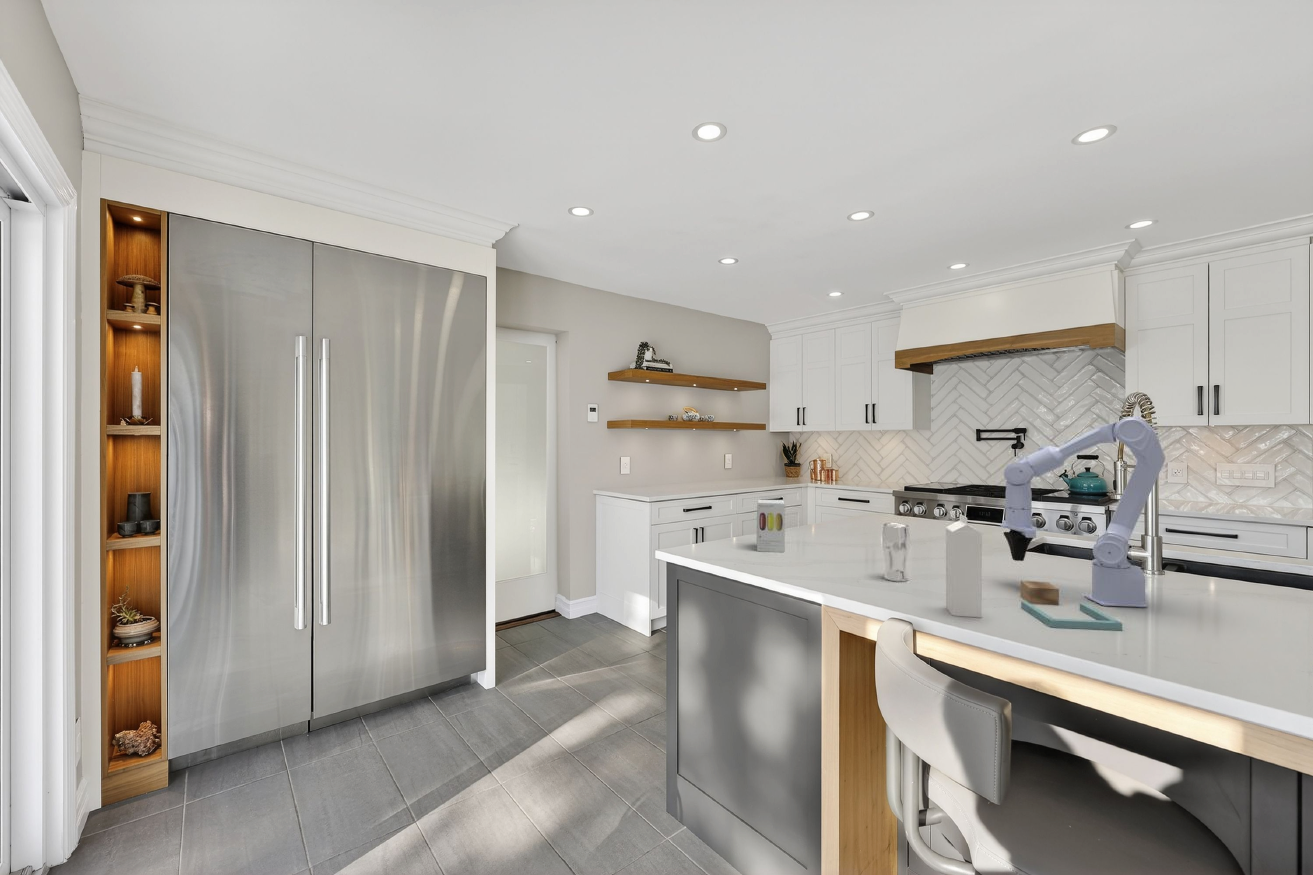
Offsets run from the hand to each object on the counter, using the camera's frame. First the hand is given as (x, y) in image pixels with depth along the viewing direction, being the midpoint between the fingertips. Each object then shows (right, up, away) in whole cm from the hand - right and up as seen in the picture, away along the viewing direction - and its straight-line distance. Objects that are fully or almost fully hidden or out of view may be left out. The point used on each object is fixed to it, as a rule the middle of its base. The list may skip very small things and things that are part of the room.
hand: (1018, 560), depth 149 cm
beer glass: (-28, -8, +10) cm, 30 cm away
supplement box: (-54, -7, +50) cm, 74 cm away
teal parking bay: (-4, -8, -24) cm, 25 cm away
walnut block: (-2, -8, -11) cm, 13 cm away
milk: (-24, -8, -19) cm, 32 cm away
